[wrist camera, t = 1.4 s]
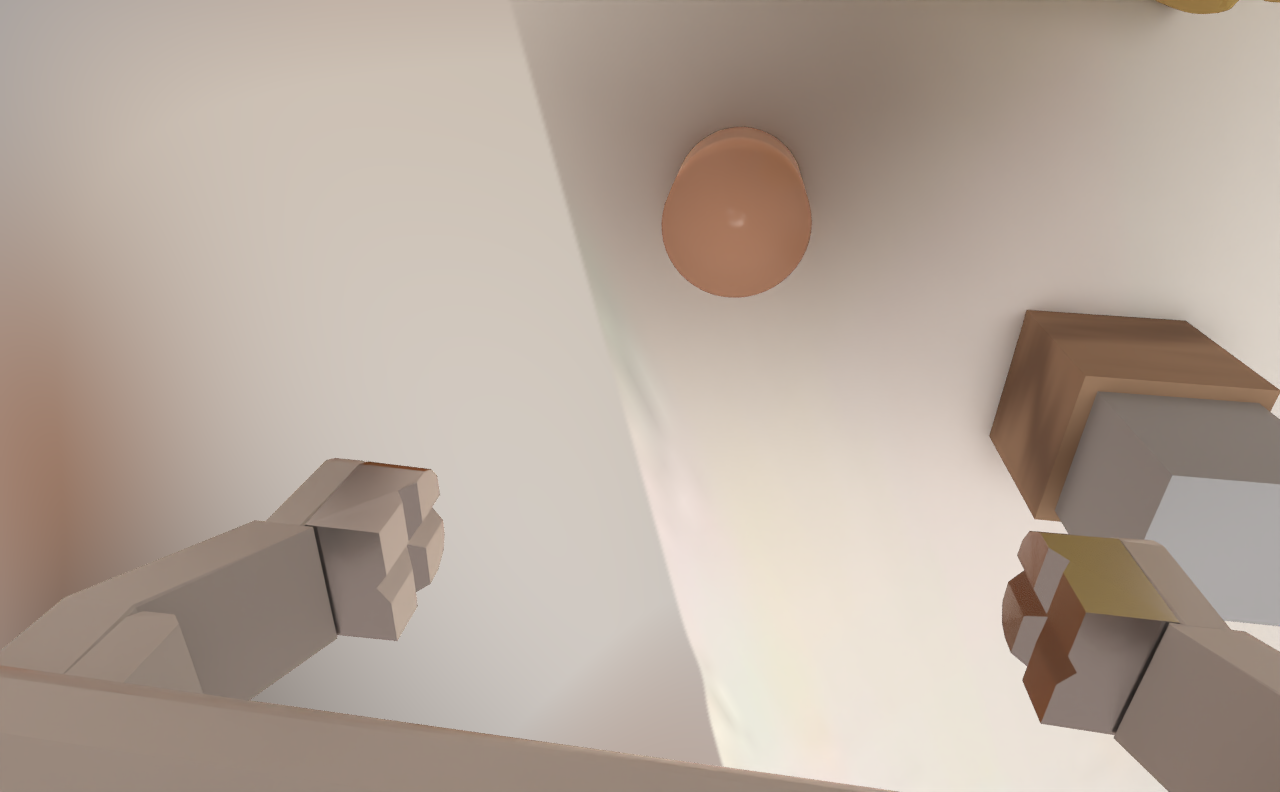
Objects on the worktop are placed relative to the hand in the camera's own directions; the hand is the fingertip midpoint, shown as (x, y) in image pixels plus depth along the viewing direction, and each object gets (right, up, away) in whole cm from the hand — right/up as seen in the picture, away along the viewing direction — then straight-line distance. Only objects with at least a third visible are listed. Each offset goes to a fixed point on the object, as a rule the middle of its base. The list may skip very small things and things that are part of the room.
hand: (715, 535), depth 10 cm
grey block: (+17, 0, +15) cm, 23 cm away
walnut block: (+17, +3, +20) cm, 27 cm away
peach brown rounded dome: (+3, +10, +19) cm, 21 cm away
